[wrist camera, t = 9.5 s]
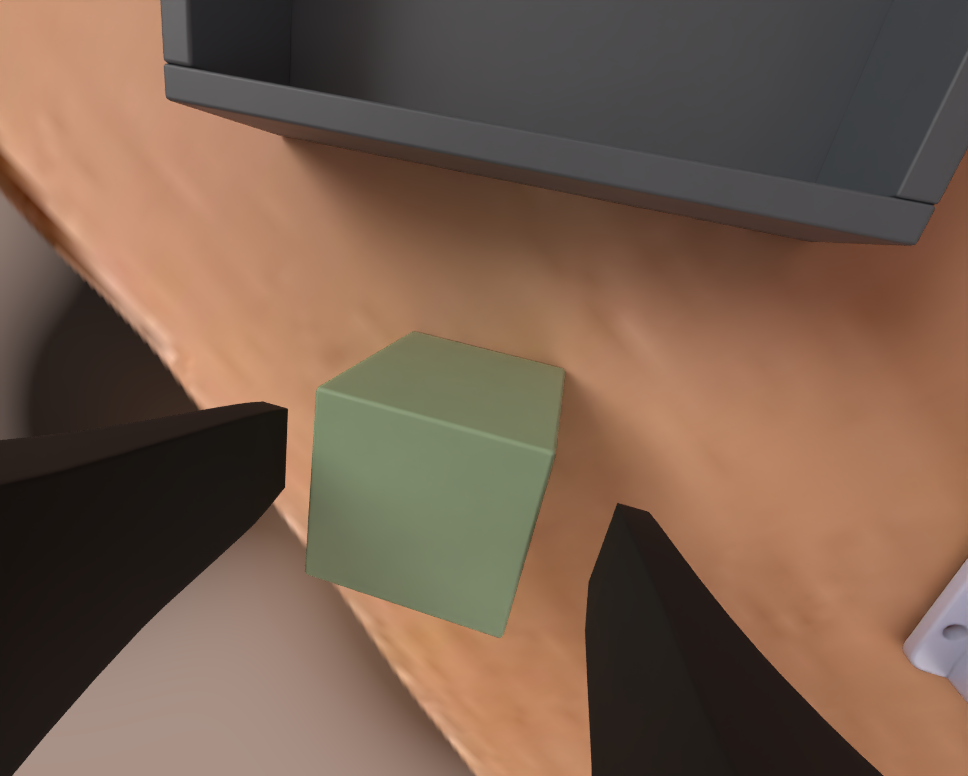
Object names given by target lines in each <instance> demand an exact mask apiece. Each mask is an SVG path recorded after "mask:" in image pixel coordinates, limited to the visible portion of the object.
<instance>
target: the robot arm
mask: <svg viewBox="0 0 968 776" xmlns="http://www.w3.org/2000/svg"><path fill="white" fill-rule="evenodd" d="M287 419H288V409H287V408H284V407H280V406H277V405H273V404H270V403H266V402H251V403H242V404H235V405H229V406H223V407H217V408H211V409H206V410H200V411H195V412H189V413H184V414H178V415H173V416H168V417H162V418H157V419H151V420H145V421H140V422H133V423H128V424H121V425H115V426H108V427H102V428H96V429H89V430H83V431H77V432H69V433H62V434H53V435H45V436H37V437H27V438H17V439H8V440H0V776H12V775H13V774H14V773H15V771H16V770H17V769H18V768H19V767H20V766H21V764H22V763H23V762H24V761H25V760H26V758H27V757H28V756H29V755H30V754H31V752H32V751H33V750H34V748H35V747H36V746H37V745H38V744H39V743H40V741H41V740H42V739H43V738H44V737H45V736H46V734H47V733H48V732H49V731H50V730H51V729H52V728H53V726H54V725H55V724H56V723H57V722H58V721H59V720H60V718H61V717H62V716H63V715H64V714H65V712H67V710H68V709H69V708H70V707H71V706H72V705H73V703H74V702H75V701H76V700H77V699H78V698H79V697H80V696H81V694H82V693H83V692H84V691H85V690H86V689H87V688H88V686H89V685H90V684H91V683H92V682H93V681H94V680H95V678H96V677H97V676H98V675H99V674H100V673H101V672H102V671H103V670H104V669H105V668H106V667H107V665H108V664H109V663H110V662H111V661H112V660H113V659H114V658H115V657H116V655H118V654H119V652H120V651H121V650H122V649H123V648H124V647H125V646H126V645H127V644H128V643H129V642H130V641H131V640H132V638H133V637H134V636H135V635H136V634H137V633H138V632H139V631H140V630H141V628H143V627H144V626H145V625H146V624H147V623H148V622H149V621H150V620H151V619H152V618H153V617H154V616H155V615H156V614H157V613H158V612H159V611H160V610H161V609H162V608H163V607H164V606H165V605H166V604H167V603H169V602H170V601H171V600H172V599H173V598H174V597H175V596H176V595H177V594H178V593H180V592H181V591H182V590H183V589H184V588H185V587H186V586H187V585H188V584H189V583H191V582H192V581H193V580H194V579H195V578H196V577H197V576H198V575H199V574H201V573H202V572H203V571H204V570H205V569H206V568H207V567H208V566H209V565H210V564H212V563H213V562H214V561H215V560H216V559H217V558H218V557H219V556H220V555H222V554H223V552H225V551H226V550H227V549H228V548H229V547H230V546H231V545H232V544H233V543H235V542H236V541H237V540H238V539H239V538H240V537H241V536H242V535H243V534H244V533H245V532H246V531H247V530H248V529H249V528H250V527H252V526H253V524H255V523H256V521H257V520H258V519H259V518H260V517H261V516H262V515H263V513H264V512H265V511H266V510H267V509H268V508H269V507H270V505H271V504H272V503H273V502H274V500H275V499H276V498H277V497H278V495H279V494H280V493H281V492H282V490H283V489H284V488H285V473H286V446H287ZM950 625H951V626H950ZM947 626H950V627H947ZM585 639H586V662H587V683H588V703H589V722H590V742H591V762H592V776H883V775H882V774H881V773H880V772H879V771H878V770H877V769H876V768H875V767H874V766H872V765H871V764H870V763H869V762H868V761H867V760H866V759H865V758H864V757H863V756H862V755H861V754H859V753H858V752H857V751H856V750H855V749H854V748H853V747H852V746H851V745H850V744H849V743H848V742H847V741H846V740H845V739H844V738H843V737H842V736H841V735H840V734H839V733H838V732H837V731H836V730H835V729H834V728H833V727H832V726H830V725H829V724H828V723H827V722H826V721H825V720H824V719H823V718H822V717H821V716H820V715H819V713H818V712H817V711H816V710H815V709H814V708H813V707H812V706H811V705H810V704H809V703H808V702H807V701H806V700H805V699H804V698H803V697H802V696H801V695H800V694H799V693H798V692H797V691H796V690H795V689H794V688H793V687H792V686H791V685H790V684H789V682H788V681H787V680H786V679H785V678H784V677H783V676H782V675H781V674H780V673H779V672H778V671H777V670H776V669H775V668H774V667H773V666H772V664H771V663H770V662H769V661H768V660H767V659H766V658H765V657H764V656H763V655H762V653H761V652H760V651H759V650H758V649H757V648H756V647H755V645H754V644H753V643H752V642H751V641H750V640H749V638H748V637H747V636H746V635H745V634H744V633H743V631H742V630H741V629H740V628H739V627H738V626H737V624H736V623H735V622H734V621H733V620H732V619H731V618H730V616H729V615H728V614H727V613H726V611H725V610H724V609H723V608H722V607H721V605H720V604H719V603H718V602H717V600H716V599H715V598H714V597H713V595H712V594H711V593H710V592H709V590H708V589H707V588H706V587H705V585H704V584H703V583H702V581H701V580H700V579H699V578H698V576H697V575H696V574H695V572H694V571H693V570H692V568H691V567H690V566H689V564H688V563H687V562H686V560H685V559H684V558H683V556H682V555H681V554H680V552H679V551H678V550H677V548H676V547H675V546H674V544H673V543H672V542H671V540H670V539H669V537H668V536H667V535H666V533H665V532H664V531H663V529H662V528H661V527H660V525H659V524H658V523H657V521H656V520H655V519H654V518H653V516H652V515H651V514H650V513H649V512H647V511H643V510H640V509H636V508H633V507H629V506H626V505H622V504H619V503H617V506H616V509H615V511H614V514H613V517H612V520H611V522H610V525H609V528H608V531H607V533H606V536H605V539H604V542H603V544H602V547H601V550H600V553H599V555H598V558H597V561H596V563H595V566H594V569H593V572H592V574H591V577H590V580H589V585H588V597H587V610H586V626H585ZM902 648H903V653H904V654H905V655H906V657H907V658H908V659H909V661H910V662H911V663H912V664H913V665H914V666H915V667H916V668H918V669H920V670H922V671H925V672H929V673H932V674H935V675H939V676H942V677H945V678H948V680H949V681H950V683H951V684H952V685H953V686H954V687H955V689H956V690H957V691H958V692H959V694H960V695H961V696H962V697H963V698H964V700H965V701H966V702H967V703H968V558H967V560H966V561H965V562H964V564H963V565H962V566H961V568H960V569H959V570H958V572H957V573H956V574H955V576H954V577H953V578H952V580H951V581H950V582H949V584H948V585H947V586H946V588H945V589H944V590H943V592H942V593H941V594H940V596H939V597H938V598H937V600H936V601H935V602H934V604H933V605H932V606H931V608H930V609H929V610H928V612H927V613H926V614H925V616H924V617H923V618H922V620H921V621H920V622H919V624H918V625H917V626H916V628H915V629H914V630H913V632H912V633H911V634H910V636H909V637H908V638H907V640H906V641H905V642H904V645H903V647H902Z"/></svg>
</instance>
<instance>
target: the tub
mask: <svg viewBox="0 0 968 776" xmlns="http://www.w3.org/2000/svg"><path fill="white" fill-rule="evenodd" d="M161 18H162V36H163V54H164V60H165V61H166V62H167V63H168V64H165V65H164V75H165V93H166V98H167V99H169V100H170V101H173V102H176V103H179V104H182V105H185V106H189V107H192V108H195V109H198V110H201V111H204V112H207V113H211V114H214V115H217V116H220V117H223V118H226V119H229V120H233V121H236V122H239V123H242V124H245V125H248V126H251V127H254V128H258V129H261V130H264V131H267V132H270V133H273V134H276V135H280V136H285V137H290V138H295V139H300V140H305V141H310V142H315V143H320V144H325V145H330V146H335V147H340V148H345V149H350V150H355V151H360V152H365V153H370V154H375V155H380V156H385V157H390V158H395V159H400V160H405V161H410V162H415V163H420V164H425V165H430V166H435V167H440V168H445V169H450V170H455V171H460V172H465V173H470V174H475V175H480V176H485V177H490V178H495V179H500V180H505V181H510V182H515V183H520V184H525V185H530V186H535V187H540V188H545V189H550V190H555V191H560V192H565V193H570V194H575V195H580V196H585V197H590V198H595V199H600V200H605V201H610V202H615V203H620V204H625V205H630V206H635V207H640V208H645V209H650V210H655V211H660V212H665V213H670V214H675V215H680V216H685V217H690V218H695V219H700V220H705V221H710V222H715V223H720V224H725V225H730V226H735V227H740V228H745V229H750V230H755V231H760V232H765V233H770V234H775V235H780V236H785V237H790V238H795V239H800V240H805V241H810V242H833V243H857V244H880V245H904V246H911V245H915V244H916V243H917V242H918V240H919V238H920V236H921V235H922V233H923V231H924V229H925V227H926V225H927V223H928V221H929V219H930V217H931V215H932V214H933V212H934V210H935V207H934V206H933V205H934V204H937V203H938V202H939V201H940V199H941V198H942V196H943V194H944V192H945V190H946V188H947V186H948V184H949V182H950V180H951V179H952V177H953V175H954V173H955V171H956V169H957V167H958V165H959V163H960V161H961V160H962V158H963V156H964V154H965V152H966V150H967V148H968V0H161Z"/></svg>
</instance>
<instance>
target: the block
mask: <svg viewBox="0 0 968 776" xmlns="http://www.w3.org/2000/svg"><path fill="white" fill-rule="evenodd" d="M565 373H566V372H565V369H563V368H560V367H556V366H552V365H548V364H544V363H540V362H536V361H532V360H528V359H524V358H520V357H516V356H512V355H508V354H504V353H500V352H496V351H492V350H488V349H484V348H480V347H476V346H472V345H468V344H464V343H460V342H456V341H452V340H448V339H444V338H440V337H436V336H432V335H428V334H424V333H420V332H416V331H413V332H411V333H409V334H408V335H406V336H404V337H402V338H401V339H399V340H397V341H396V342H394V343H392V344H391V345H389V346H387V347H385V348H384V349H382V350H380V351H379V352H377V353H375V354H373V355H372V356H370V357H368V358H367V359H365V360H363V361H362V362H360V363H358V364H356V365H355V366H353V367H351V368H350V369H348V370H346V371H345V372H343V373H341V374H339V375H338V376H336V377H334V378H333V379H331V380H329V381H328V382H326V383H324V384H322V385H321V386H319V387H318V388H317V391H316V406H315V421H314V437H313V453H312V469H311V485H310V501H309V517H308V533H307V549H306V565H305V572H306V574H308V575H311V576H314V577H317V578H320V579H323V580H326V581H329V582H332V583H335V584H338V585H341V586H344V587H347V588H350V589H353V590H356V591H359V592H362V593H365V594H368V595H371V596H374V597H377V598H380V599H383V600H386V601H389V602H392V603H395V604H398V605H401V606H404V607H407V608H410V609H413V610H416V611H419V612H422V613H425V614H428V615H431V616H434V617H437V618H440V619H443V620H446V621H449V622H452V623H455V624H458V625H461V626H465V627H468V628H471V629H474V630H477V631H480V632H483V633H486V634H489V635H492V636H495V637H498V638H501V637H502V636H503V635H504V631H505V628H506V625H507V621H508V618H509V614H510V611H511V607H512V604H513V601H514V597H515V594H516V590H517V587H518V583H519V580H520V576H521V573H522V570H523V566H524V563H525V559H526V556H527V552H528V549H529V546H530V542H531V539H532V535H533V532H534V528H535V525H536V521H537V518H538V515H539V511H540V508H541V504H542V501H543V497H544V494H545V491H546V487H547V484H548V480H549V477H550V473H551V470H552V466H553V463H554V460H555V456H556V449H557V441H558V432H559V424H560V415H561V407H562V398H563V390H564V381H565Z"/></svg>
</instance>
